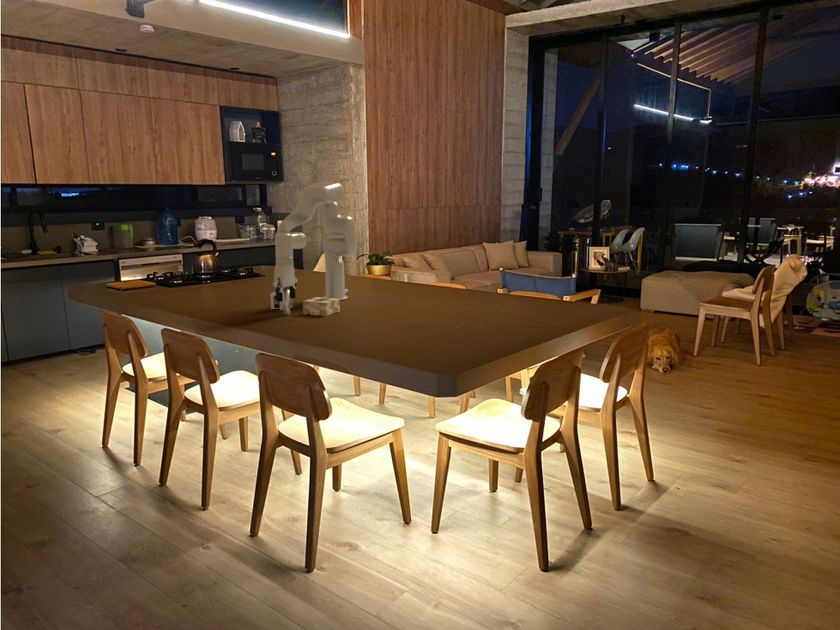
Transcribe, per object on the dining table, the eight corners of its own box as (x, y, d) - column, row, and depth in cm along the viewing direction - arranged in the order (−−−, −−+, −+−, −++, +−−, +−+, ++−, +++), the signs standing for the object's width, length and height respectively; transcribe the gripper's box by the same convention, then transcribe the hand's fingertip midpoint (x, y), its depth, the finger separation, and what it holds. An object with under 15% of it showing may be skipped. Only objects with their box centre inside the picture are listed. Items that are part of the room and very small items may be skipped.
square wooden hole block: (317, 309, 296) (317, 297, 295) (340, 311, 291) (339, 298, 290) (303, 314, 285) (302, 301, 284) (326, 316, 280) (326, 302, 279)
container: (286, 310, 294) (285, 282, 292) (270, 309, 296) (269, 282, 293) (293, 307, 302) (292, 280, 299) (277, 306, 303) (276, 279, 301)
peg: (286, 313, 286) (285, 287, 283) (291, 314, 284) (290, 287, 282) (282, 315, 283) (281, 288, 281) (287, 315, 282) (286, 288, 279)
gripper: (288, 259, 288) (290, 296, 291) (265, 262, 273) (267, 302, 276) (302, 260, 285) (303, 297, 288) (280, 263, 270) (281, 303, 273)
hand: (285, 299), depth 282 cm, fingers open, 9 cm apart
